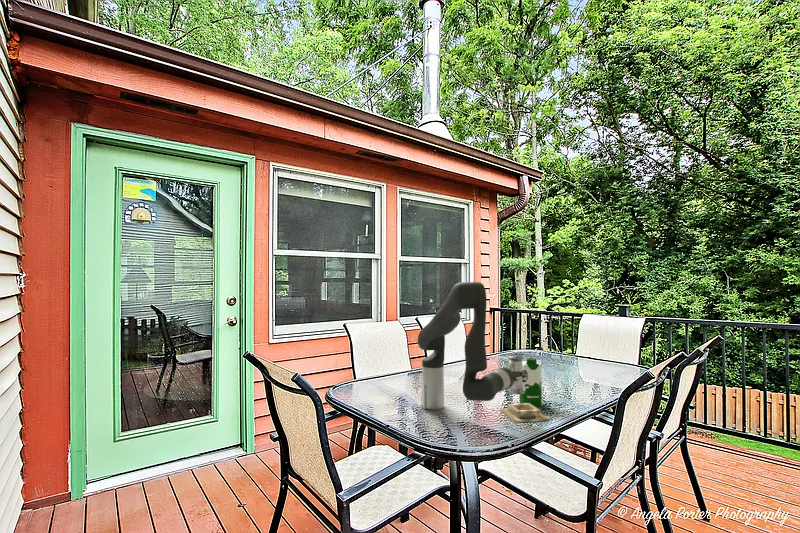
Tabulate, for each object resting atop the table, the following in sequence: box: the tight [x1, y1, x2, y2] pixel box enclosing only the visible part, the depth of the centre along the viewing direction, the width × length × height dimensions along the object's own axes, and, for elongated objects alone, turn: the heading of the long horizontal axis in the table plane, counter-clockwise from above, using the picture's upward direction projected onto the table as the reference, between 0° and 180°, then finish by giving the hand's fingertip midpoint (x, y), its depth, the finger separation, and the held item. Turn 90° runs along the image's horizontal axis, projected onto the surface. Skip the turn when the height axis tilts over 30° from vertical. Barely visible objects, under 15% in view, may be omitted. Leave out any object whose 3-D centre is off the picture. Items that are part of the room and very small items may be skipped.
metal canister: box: [507, 354, 524, 395], centre depth 160 cm, size 6×6×14 cm
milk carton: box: [519, 357, 543, 408], centre depth 178 cm, size 9×9×20 cm
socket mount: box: [499, 403, 550, 424], centre depth 163 cm, size 14×14×3 cm
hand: (518, 371), depth 162 cm, fingers closed on metal canister, 5 cm apart
